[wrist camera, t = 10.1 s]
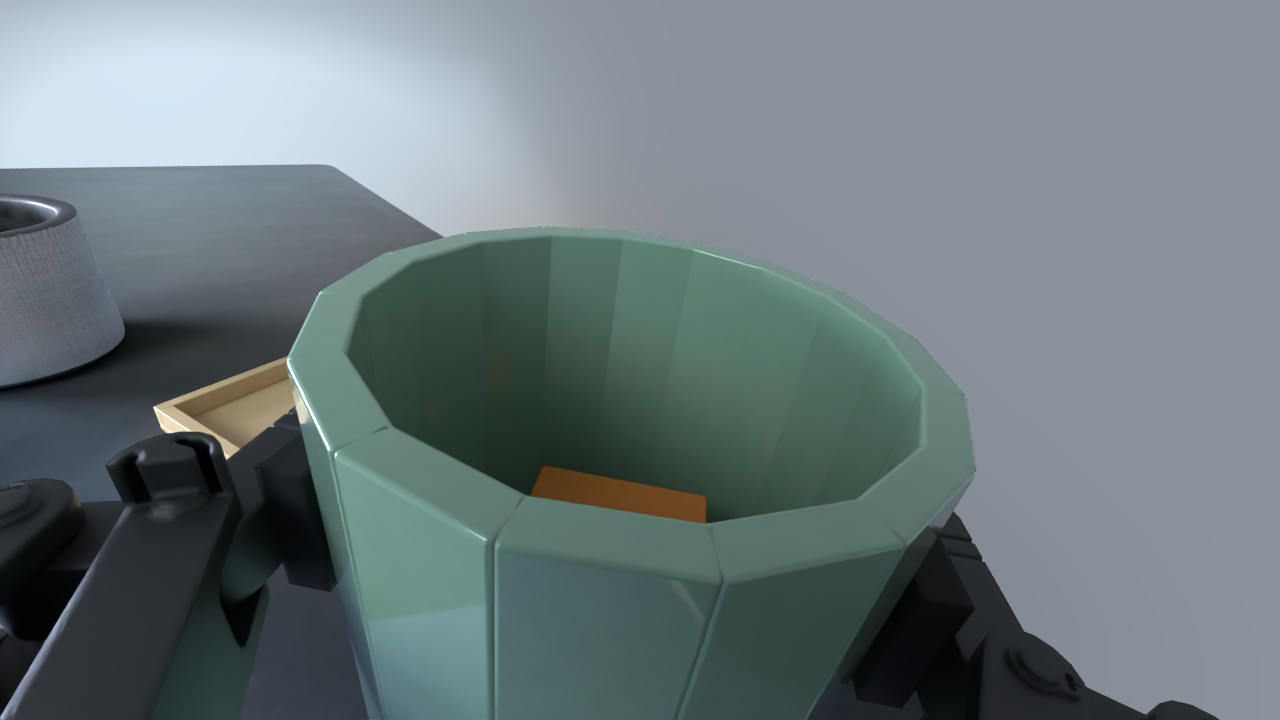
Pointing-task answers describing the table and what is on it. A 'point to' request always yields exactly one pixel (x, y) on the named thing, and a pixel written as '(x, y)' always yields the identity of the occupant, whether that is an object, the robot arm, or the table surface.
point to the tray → (232, 406)
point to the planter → (50, 293)
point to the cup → (616, 476)
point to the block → (618, 494)
